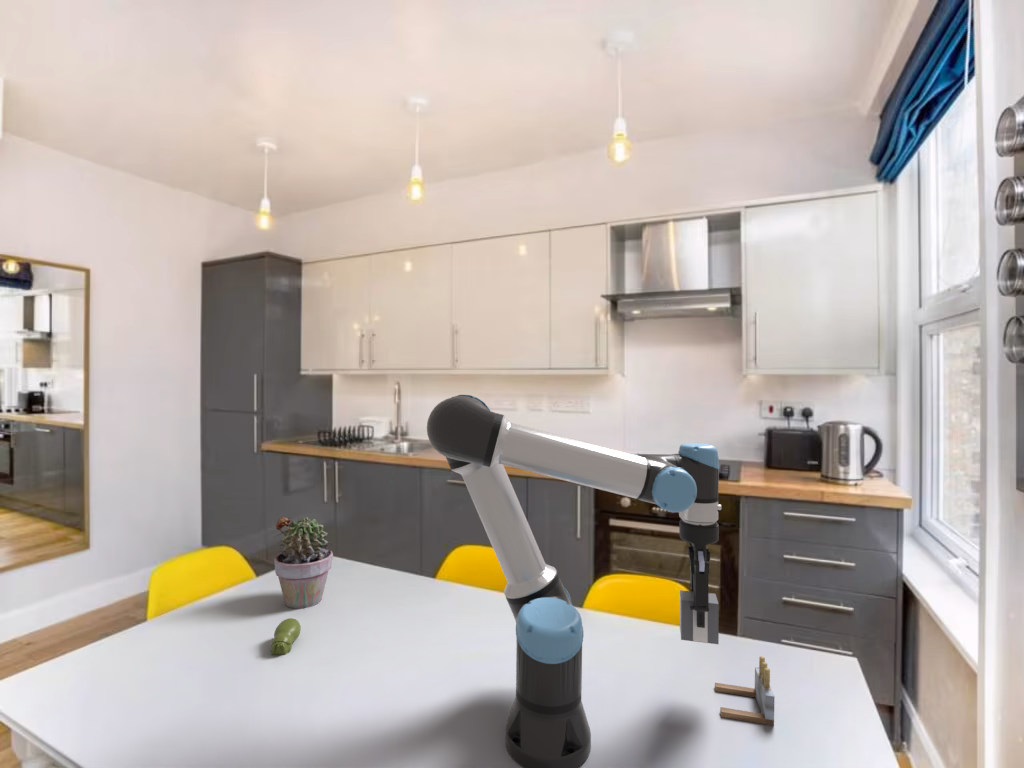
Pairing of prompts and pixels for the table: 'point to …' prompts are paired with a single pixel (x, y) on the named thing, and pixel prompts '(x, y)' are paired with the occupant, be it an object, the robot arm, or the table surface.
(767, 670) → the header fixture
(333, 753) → the table surface
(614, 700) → the table surface
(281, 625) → the green rounded oblong piece
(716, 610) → the plug block
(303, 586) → the potted plant
